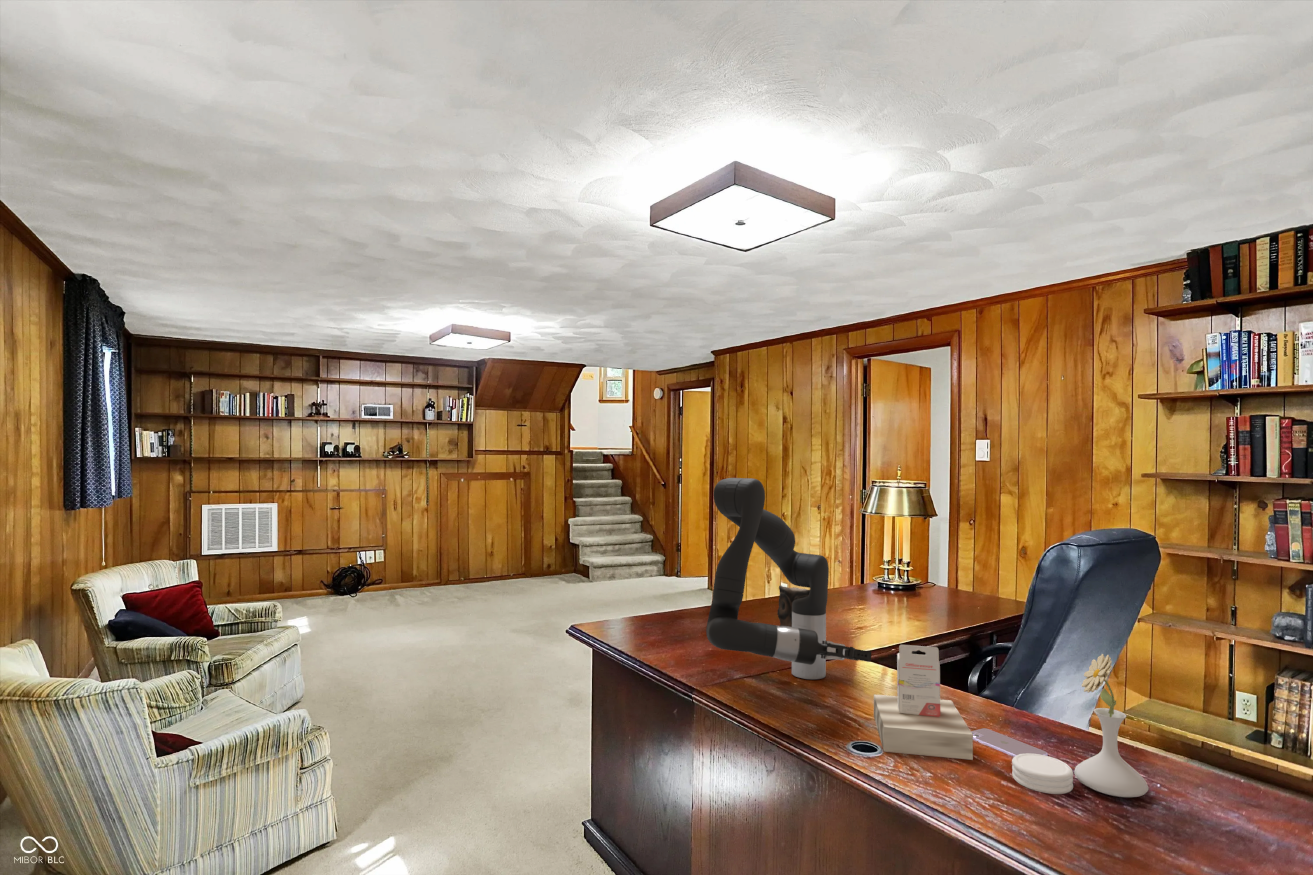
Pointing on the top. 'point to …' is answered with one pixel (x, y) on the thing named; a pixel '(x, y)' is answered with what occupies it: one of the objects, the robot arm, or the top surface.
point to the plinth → (922, 730)
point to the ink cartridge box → (918, 681)
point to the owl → (788, 603)
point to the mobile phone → (1004, 743)
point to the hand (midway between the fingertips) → (864, 656)
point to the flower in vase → (1108, 744)
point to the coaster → (1042, 773)
